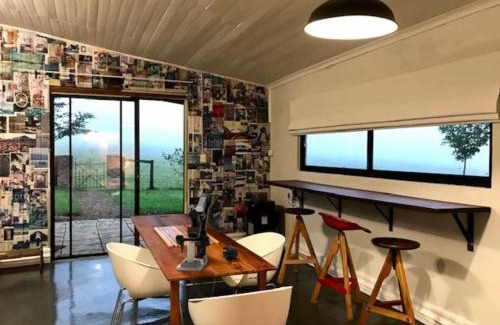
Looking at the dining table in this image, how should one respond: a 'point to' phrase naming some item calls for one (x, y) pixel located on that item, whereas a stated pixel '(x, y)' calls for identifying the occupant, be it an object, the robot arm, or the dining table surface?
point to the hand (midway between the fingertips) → (190, 253)
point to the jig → (193, 264)
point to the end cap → (230, 252)
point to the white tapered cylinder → (190, 252)
